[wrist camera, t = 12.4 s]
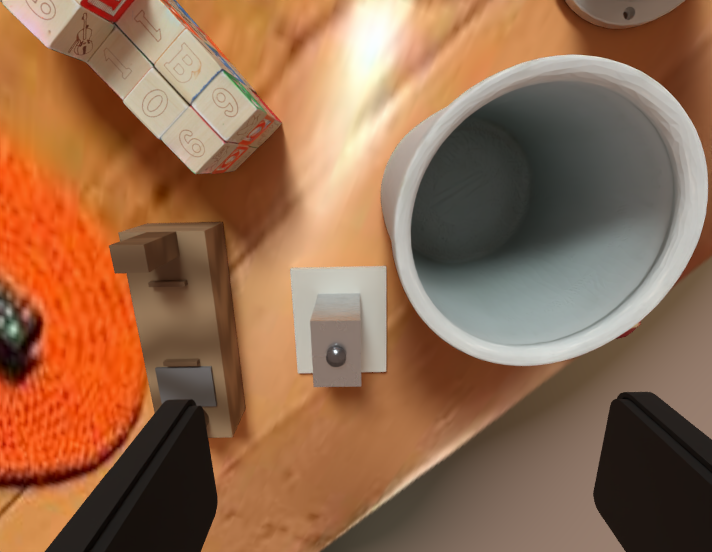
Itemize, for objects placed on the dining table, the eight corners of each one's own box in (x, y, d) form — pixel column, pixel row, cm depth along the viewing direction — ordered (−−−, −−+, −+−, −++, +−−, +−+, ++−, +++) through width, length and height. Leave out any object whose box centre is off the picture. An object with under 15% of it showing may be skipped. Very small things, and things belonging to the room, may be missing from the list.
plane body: (147, 223, 36) (75, 246, 27) (222, 222, 36) (176, 244, 27) (180, 409, 42) (131, 479, 33) (245, 408, 42) (214, 478, 33)
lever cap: (317, 293, 37) (309, 324, 30) (359, 293, 37) (360, 323, 30) (320, 350, 39) (312, 391, 32) (360, 349, 39) (361, 390, 32)
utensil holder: (575, 193, 35) (773, 227, 18) (449, 303, 38) (521, 418, 21) (468, 64, 32) (588, -36, 15) (341, 195, 35) (327, 230, 18)
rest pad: (291, 267, 37) (290, 269, 37) (385, 265, 37) (386, 267, 36) (298, 370, 40) (297, 373, 40) (385, 368, 40) (386, 371, 40)
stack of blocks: (285, 122, 34) (246, 104, 22) (235, 172, 35) (172, 180, 23) (83, -109, 29) (-105, -291, 17) (33, -42, 30) (-174, -169, 18)
